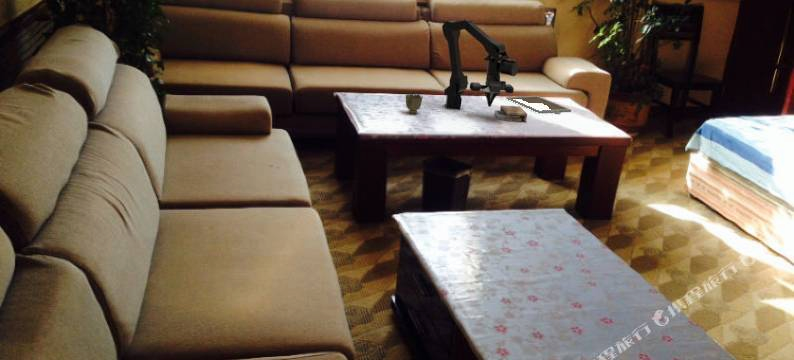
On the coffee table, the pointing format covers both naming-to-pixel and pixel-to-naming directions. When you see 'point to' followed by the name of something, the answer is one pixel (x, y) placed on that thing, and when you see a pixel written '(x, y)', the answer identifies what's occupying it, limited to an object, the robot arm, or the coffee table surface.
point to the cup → (413, 102)
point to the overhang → (514, 112)
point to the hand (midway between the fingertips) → (489, 106)
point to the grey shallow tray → (504, 115)
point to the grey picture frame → (536, 99)
